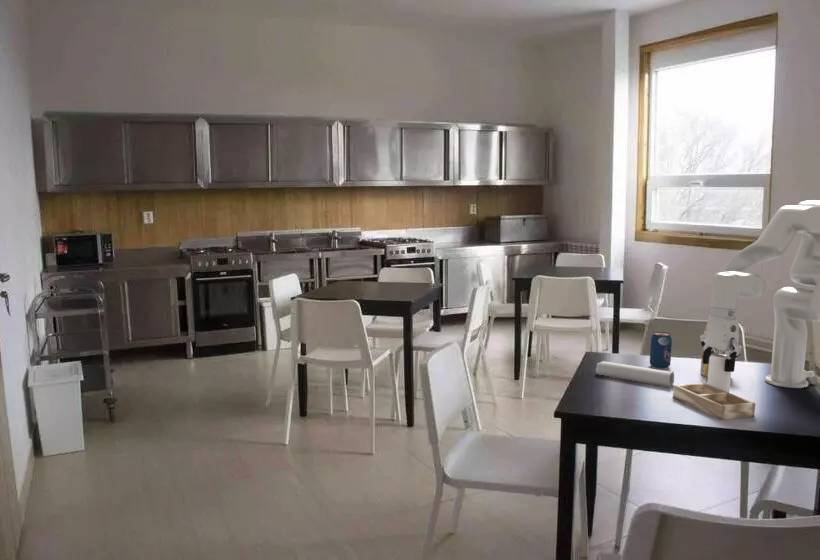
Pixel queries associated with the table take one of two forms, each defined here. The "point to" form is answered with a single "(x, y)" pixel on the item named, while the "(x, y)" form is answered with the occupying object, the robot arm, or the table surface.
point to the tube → (636, 373)
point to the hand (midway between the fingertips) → (717, 367)
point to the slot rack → (714, 401)
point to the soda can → (660, 350)
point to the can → (718, 372)
